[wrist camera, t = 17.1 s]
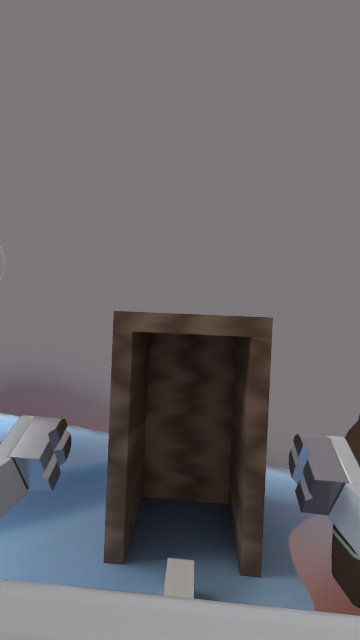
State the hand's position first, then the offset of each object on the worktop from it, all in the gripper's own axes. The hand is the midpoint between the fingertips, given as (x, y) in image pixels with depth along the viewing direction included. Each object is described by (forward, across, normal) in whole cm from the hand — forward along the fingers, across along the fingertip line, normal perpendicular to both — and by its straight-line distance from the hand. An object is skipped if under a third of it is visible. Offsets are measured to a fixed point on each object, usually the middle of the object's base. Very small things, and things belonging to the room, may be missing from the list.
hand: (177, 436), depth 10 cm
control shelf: (+11, 0, +31) cm, 33 cm away
